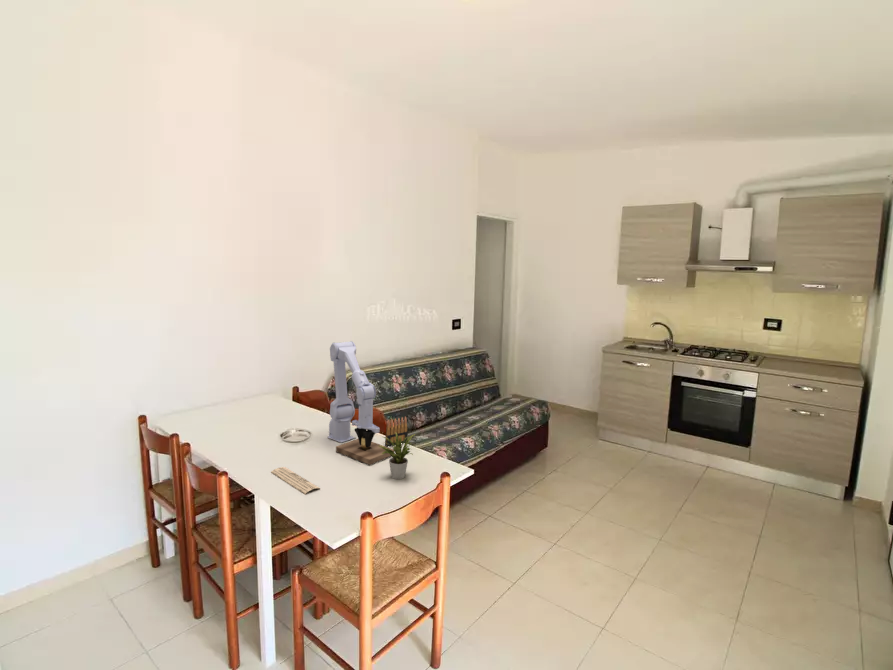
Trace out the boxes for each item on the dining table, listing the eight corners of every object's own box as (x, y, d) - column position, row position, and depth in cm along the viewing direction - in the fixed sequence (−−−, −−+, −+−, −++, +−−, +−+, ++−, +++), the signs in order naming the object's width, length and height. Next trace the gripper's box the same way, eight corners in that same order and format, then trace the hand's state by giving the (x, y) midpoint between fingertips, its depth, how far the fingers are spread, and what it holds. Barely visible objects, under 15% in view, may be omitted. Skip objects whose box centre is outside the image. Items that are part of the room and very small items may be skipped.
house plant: (399, 463, 196) (400, 424, 193) (425, 474, 187) (426, 433, 185) (372, 474, 185) (373, 433, 182) (398, 486, 176) (400, 443, 174)
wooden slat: (271, 474, 183) (270, 470, 183) (288, 469, 188) (288, 464, 188) (305, 496, 167) (305, 491, 167) (323, 490, 172) (323, 485, 172)
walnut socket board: (336, 452, 204) (336, 446, 204) (360, 443, 215) (360, 437, 215) (369, 465, 193) (369, 459, 192) (394, 455, 204) (394, 449, 203)
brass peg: (359, 451, 204) (359, 437, 203) (365, 449, 206) (365, 435, 205) (364, 453, 202) (364, 439, 201) (369, 451, 204) (370, 437, 203)
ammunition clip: (405, 441, 220) (406, 415, 218) (407, 442, 219) (408, 416, 217) (384, 445, 214) (385, 419, 212) (386, 447, 212) (387, 420, 211)
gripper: (346, 412, 203) (346, 443, 205) (371, 420, 194) (370, 452, 196) (359, 408, 208) (358, 439, 210) (383, 416, 200) (382, 447, 202)
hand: (365, 445), depth 203 cm, fingers closed on brass peg, 3 cm apart
